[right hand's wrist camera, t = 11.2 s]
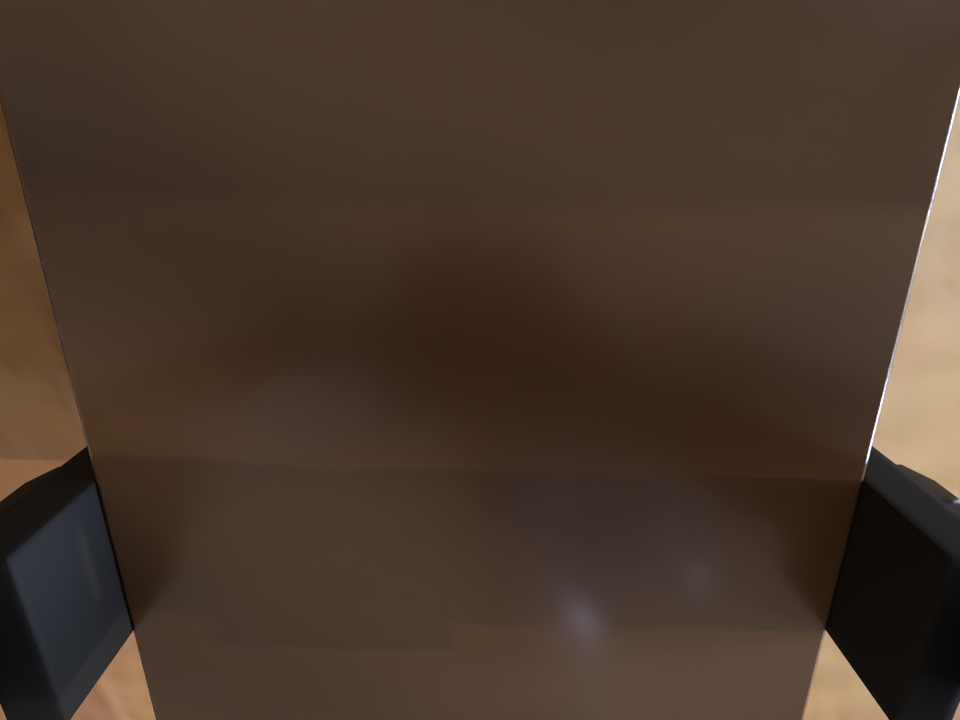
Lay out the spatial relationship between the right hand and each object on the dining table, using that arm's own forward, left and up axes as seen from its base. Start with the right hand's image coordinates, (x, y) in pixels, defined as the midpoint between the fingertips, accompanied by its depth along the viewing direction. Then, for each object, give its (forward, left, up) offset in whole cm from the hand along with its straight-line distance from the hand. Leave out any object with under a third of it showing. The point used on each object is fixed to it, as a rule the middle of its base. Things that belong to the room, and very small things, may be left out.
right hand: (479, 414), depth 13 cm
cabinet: (0, -4, -5) cm, 6 cm away
